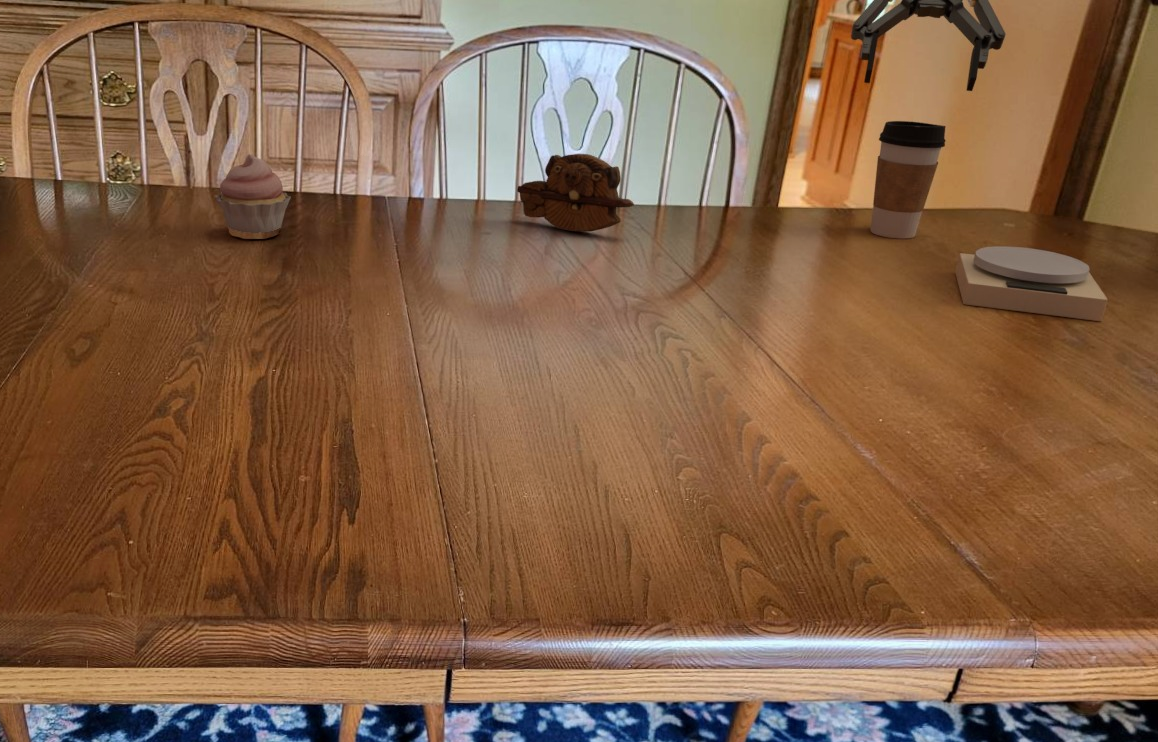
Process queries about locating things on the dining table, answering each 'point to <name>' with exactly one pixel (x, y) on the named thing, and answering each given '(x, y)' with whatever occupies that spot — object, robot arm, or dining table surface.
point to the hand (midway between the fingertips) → (919, 80)
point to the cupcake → (252, 197)
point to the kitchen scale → (1029, 282)
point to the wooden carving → (575, 193)
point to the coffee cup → (904, 176)
